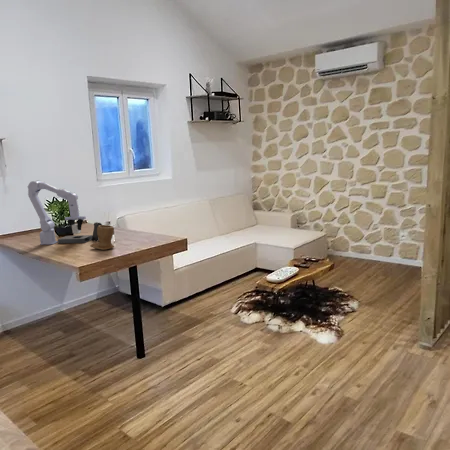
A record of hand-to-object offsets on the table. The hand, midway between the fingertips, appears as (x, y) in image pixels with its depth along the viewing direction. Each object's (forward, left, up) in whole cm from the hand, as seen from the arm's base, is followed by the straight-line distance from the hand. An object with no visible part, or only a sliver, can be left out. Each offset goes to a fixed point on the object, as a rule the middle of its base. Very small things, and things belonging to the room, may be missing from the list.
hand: (76, 230), depth 284 cm
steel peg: (0, 0, -2) cm, 2 cm away
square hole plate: (-2, 0, -8) cm, 8 cm away
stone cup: (+31, -23, -8) cm, 39 cm away
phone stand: (+14, +4, -8) cm, 17 cm away
